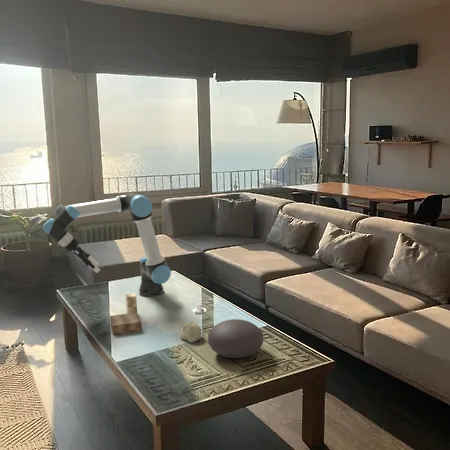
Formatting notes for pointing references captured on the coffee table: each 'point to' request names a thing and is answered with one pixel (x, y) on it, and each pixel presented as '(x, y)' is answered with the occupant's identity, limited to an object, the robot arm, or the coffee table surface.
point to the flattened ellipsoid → (235, 338)
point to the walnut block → (125, 323)
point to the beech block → (131, 303)
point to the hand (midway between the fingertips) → (97, 268)
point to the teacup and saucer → (199, 308)
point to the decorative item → (190, 332)
